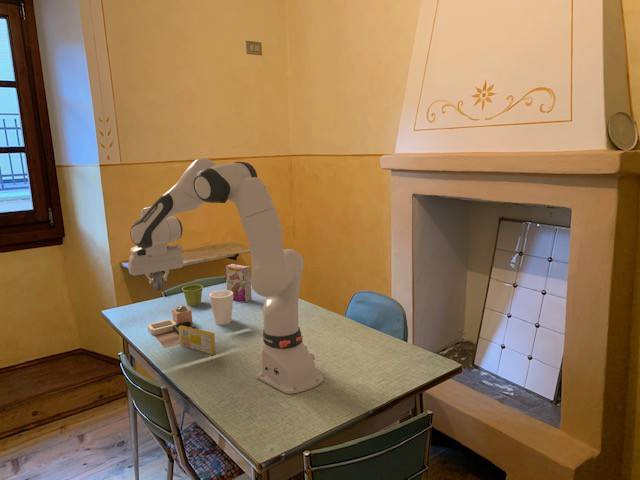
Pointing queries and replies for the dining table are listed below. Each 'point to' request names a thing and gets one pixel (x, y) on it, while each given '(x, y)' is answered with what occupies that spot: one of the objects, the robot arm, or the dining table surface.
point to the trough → (161, 326)
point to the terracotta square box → (182, 316)
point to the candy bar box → (239, 282)
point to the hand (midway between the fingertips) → (158, 282)
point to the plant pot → (193, 294)
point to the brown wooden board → (172, 335)
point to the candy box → (197, 339)
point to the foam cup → (222, 306)
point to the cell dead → (181, 309)
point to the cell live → (158, 281)
